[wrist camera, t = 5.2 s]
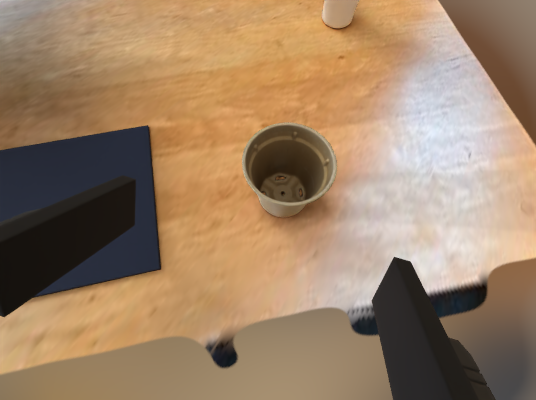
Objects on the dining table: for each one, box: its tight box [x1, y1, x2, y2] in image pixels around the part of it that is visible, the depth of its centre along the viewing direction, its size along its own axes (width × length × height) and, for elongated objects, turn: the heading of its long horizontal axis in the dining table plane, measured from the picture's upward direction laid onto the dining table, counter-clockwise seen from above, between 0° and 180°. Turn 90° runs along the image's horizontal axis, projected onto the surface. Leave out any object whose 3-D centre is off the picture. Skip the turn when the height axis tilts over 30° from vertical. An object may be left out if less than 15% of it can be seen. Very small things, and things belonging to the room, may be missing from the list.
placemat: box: [0, 126, 161, 298], centre depth 34 cm, size 20×20×1 cm
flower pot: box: [242, 123, 337, 217], centre depth 31 cm, size 9×9×9 cm
